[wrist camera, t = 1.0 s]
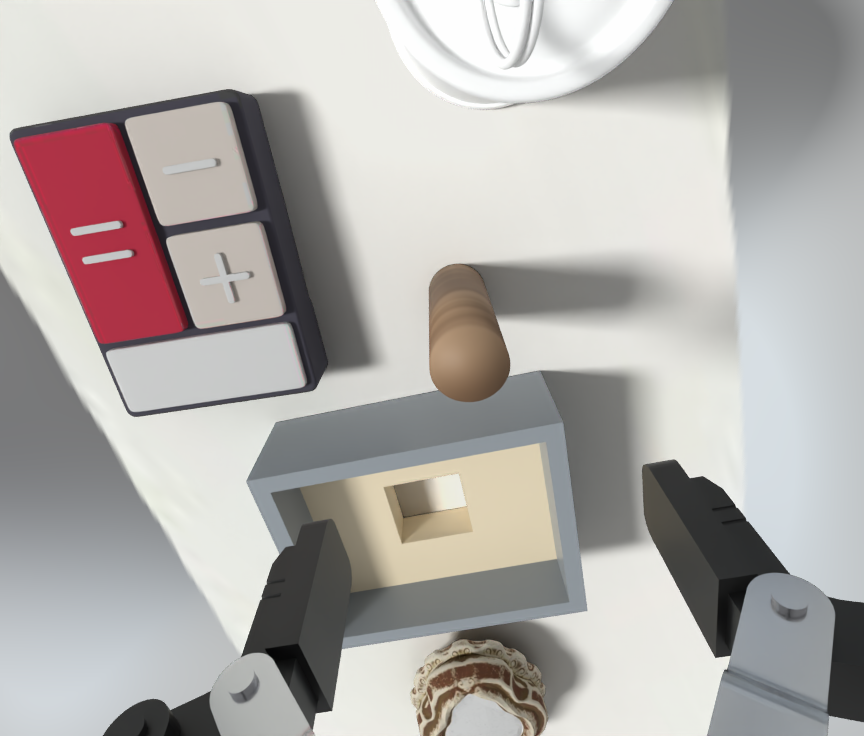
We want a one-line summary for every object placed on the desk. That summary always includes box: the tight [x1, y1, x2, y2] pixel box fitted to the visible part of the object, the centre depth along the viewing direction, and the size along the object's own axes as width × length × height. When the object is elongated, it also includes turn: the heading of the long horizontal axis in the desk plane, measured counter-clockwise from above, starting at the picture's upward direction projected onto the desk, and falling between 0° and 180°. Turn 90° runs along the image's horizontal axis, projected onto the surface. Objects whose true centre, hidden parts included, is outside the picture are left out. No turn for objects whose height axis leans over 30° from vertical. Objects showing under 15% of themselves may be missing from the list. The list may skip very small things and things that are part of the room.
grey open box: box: [246, 371, 587, 649], centre depth 33 cm, size 14×17×6 cm
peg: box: [429, 264, 510, 402], centre depth 25 cm, size 3×3×10 cm
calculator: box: [10, 89, 328, 417], centre depth 27 cm, size 11×4×15 cm
